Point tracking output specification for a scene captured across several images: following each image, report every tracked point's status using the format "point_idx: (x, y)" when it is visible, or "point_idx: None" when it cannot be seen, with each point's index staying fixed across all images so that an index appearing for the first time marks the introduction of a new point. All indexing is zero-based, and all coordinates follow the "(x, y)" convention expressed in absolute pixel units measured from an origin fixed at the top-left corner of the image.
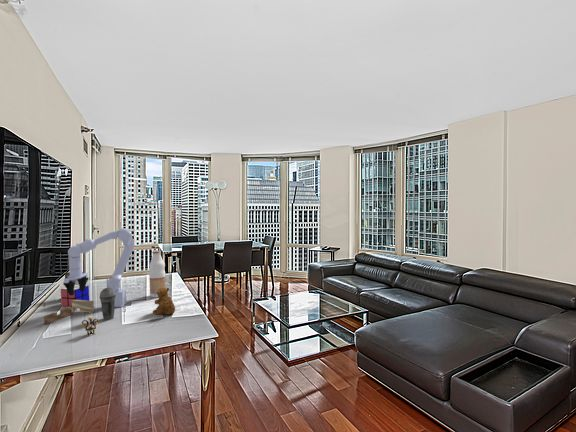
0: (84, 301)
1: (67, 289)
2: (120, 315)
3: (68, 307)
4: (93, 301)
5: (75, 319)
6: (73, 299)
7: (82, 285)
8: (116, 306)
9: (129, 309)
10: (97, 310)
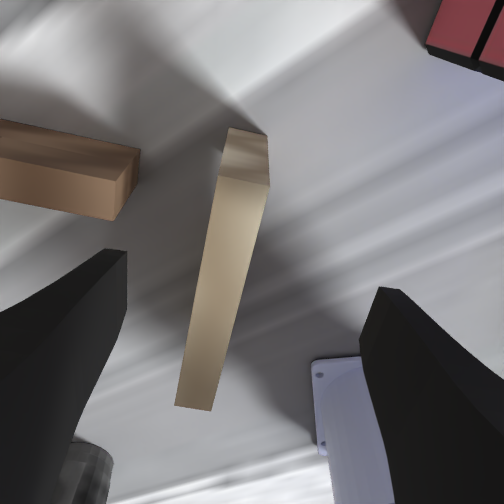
0: (186, 344)
1: (19, 313)
2: (147, 488)
3: (93, 191)
4: (210, 404)
5: (24, 287)
6: (481, 23)
7: (398, 416)
8: (317, 430)
9: (262, 491)
10: (257, 335)
